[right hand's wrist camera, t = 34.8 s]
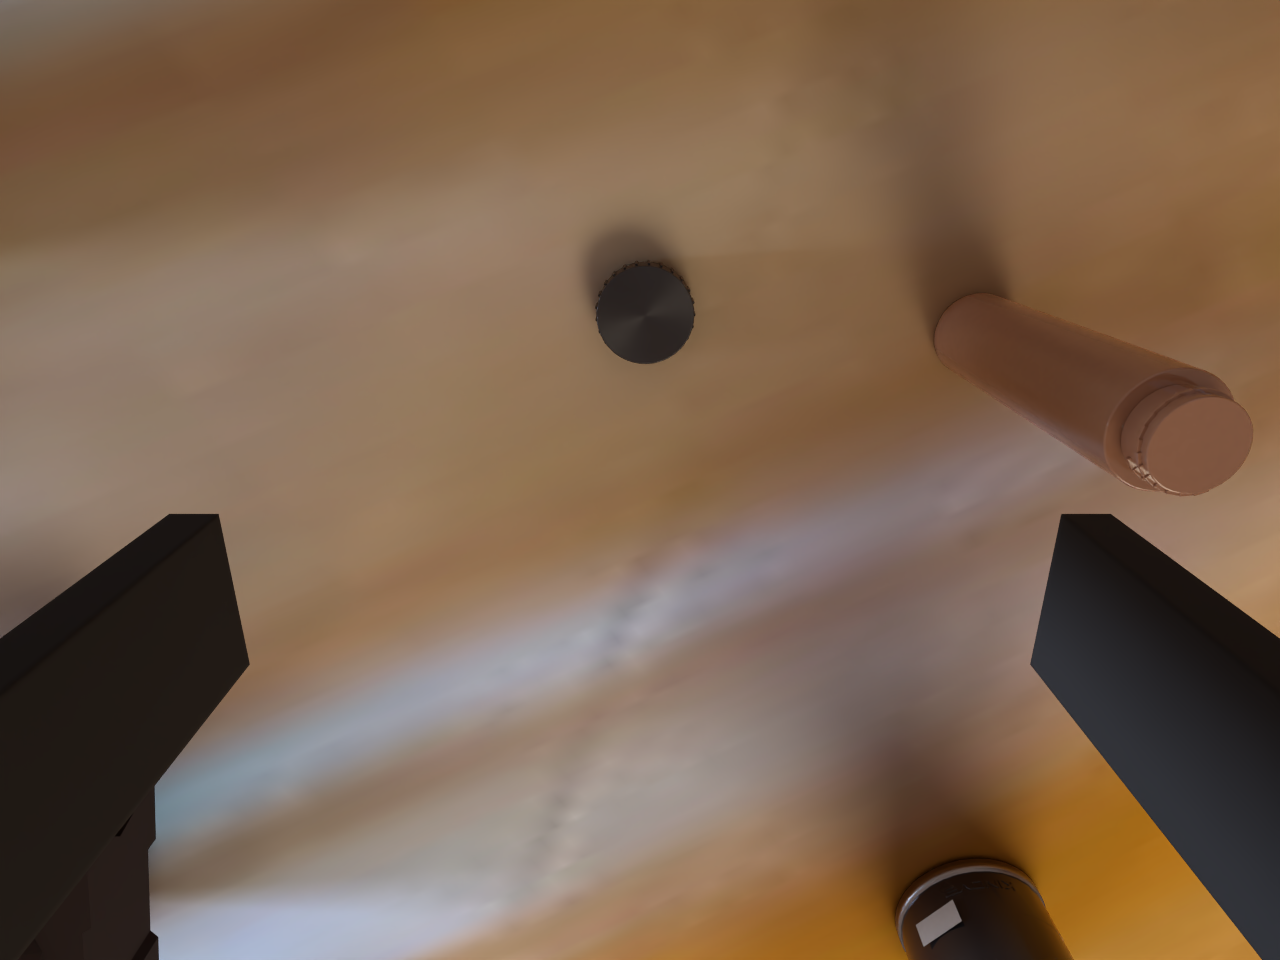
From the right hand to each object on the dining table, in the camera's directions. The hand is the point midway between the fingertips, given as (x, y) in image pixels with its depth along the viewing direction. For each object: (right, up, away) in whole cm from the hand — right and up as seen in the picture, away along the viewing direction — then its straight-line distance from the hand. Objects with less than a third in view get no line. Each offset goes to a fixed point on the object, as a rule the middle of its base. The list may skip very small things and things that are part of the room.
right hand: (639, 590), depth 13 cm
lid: (0, +10, +25) cm, 27 cm away
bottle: (+16, +9, +27) cm, 32 cm away
